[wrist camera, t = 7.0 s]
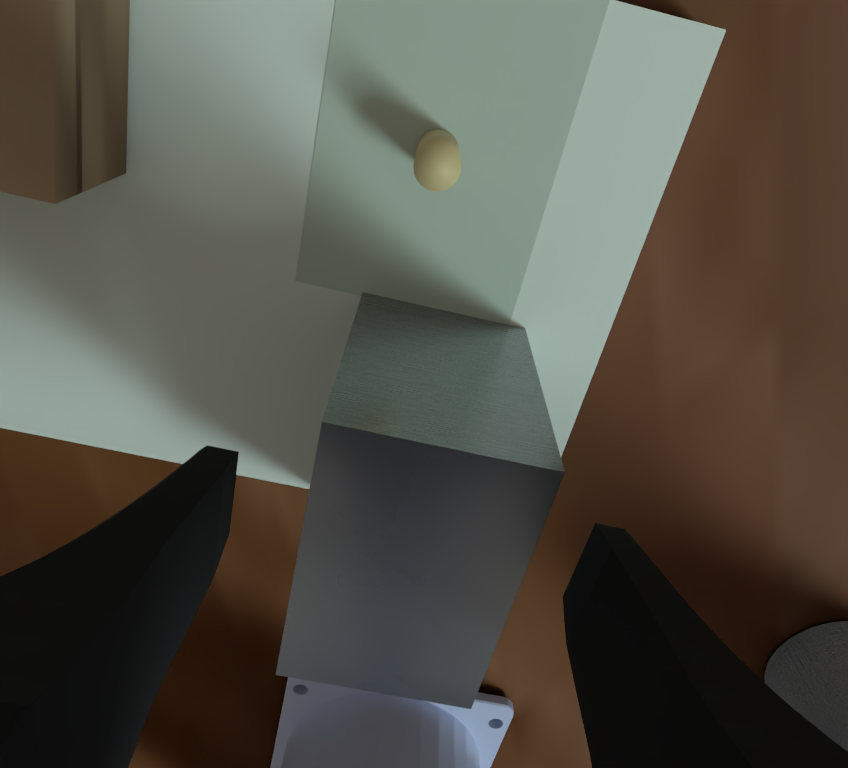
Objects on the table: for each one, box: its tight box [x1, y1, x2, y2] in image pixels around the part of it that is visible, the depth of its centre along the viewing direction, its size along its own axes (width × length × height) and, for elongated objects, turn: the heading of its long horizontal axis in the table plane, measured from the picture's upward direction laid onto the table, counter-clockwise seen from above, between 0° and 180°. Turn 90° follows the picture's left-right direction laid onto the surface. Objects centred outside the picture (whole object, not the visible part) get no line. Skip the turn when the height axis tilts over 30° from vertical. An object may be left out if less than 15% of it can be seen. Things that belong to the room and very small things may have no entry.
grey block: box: [276, 292, 565, 709], centre depth 15 cm, size 6×4×6 cm, turn 167°
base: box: [0, 0, 726, 489], centre depth 15 cm, size 13×17×3 cm
